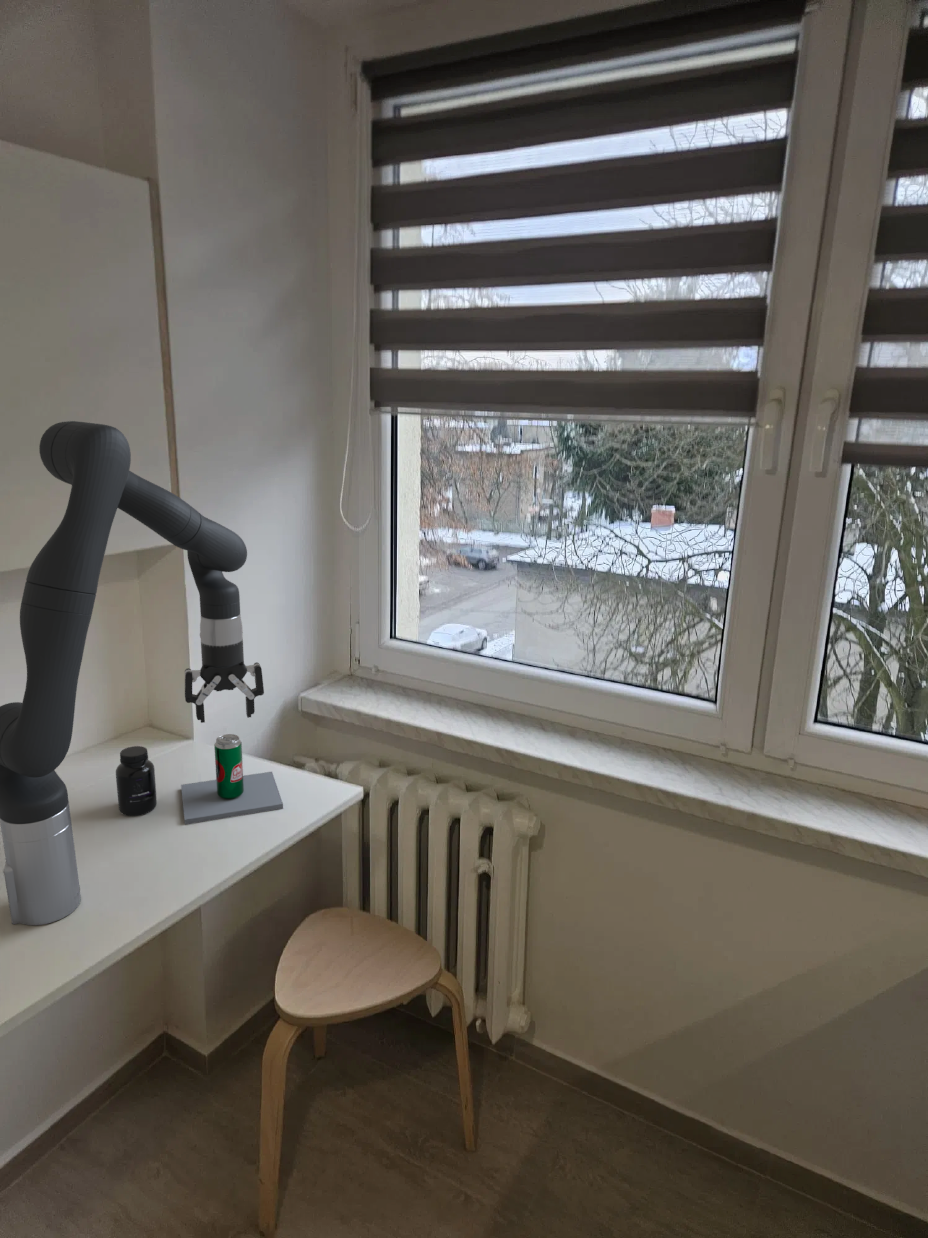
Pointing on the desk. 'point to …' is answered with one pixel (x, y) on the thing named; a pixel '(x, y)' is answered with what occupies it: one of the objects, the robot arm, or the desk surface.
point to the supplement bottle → (135, 782)
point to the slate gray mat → (209, 806)
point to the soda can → (229, 766)
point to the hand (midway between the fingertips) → (226, 718)
